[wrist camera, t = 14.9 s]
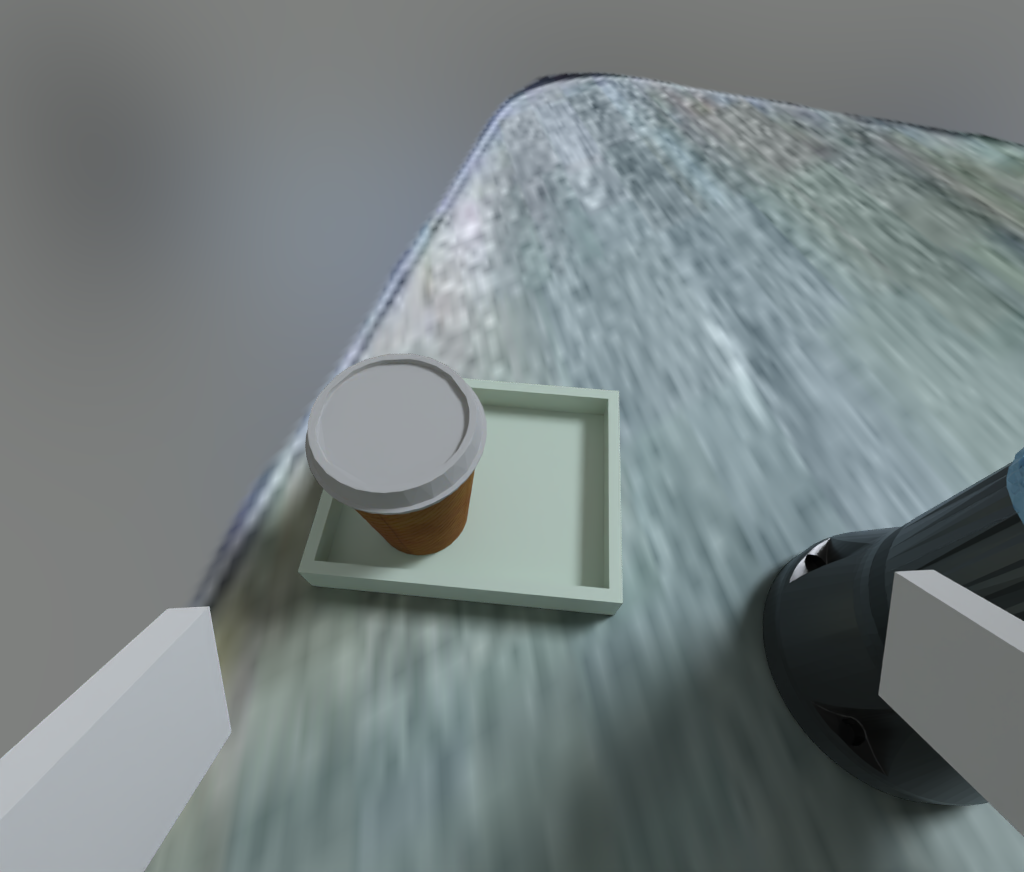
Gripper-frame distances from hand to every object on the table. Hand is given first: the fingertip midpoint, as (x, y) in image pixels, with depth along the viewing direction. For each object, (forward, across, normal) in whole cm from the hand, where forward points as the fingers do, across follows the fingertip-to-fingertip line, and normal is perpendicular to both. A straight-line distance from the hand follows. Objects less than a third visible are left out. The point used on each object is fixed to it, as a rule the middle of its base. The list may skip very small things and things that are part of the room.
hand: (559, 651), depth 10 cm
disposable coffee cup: (+26, -6, -7) cm, 28 cm away
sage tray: (+28, -3, -6) cm, 29 cm away
